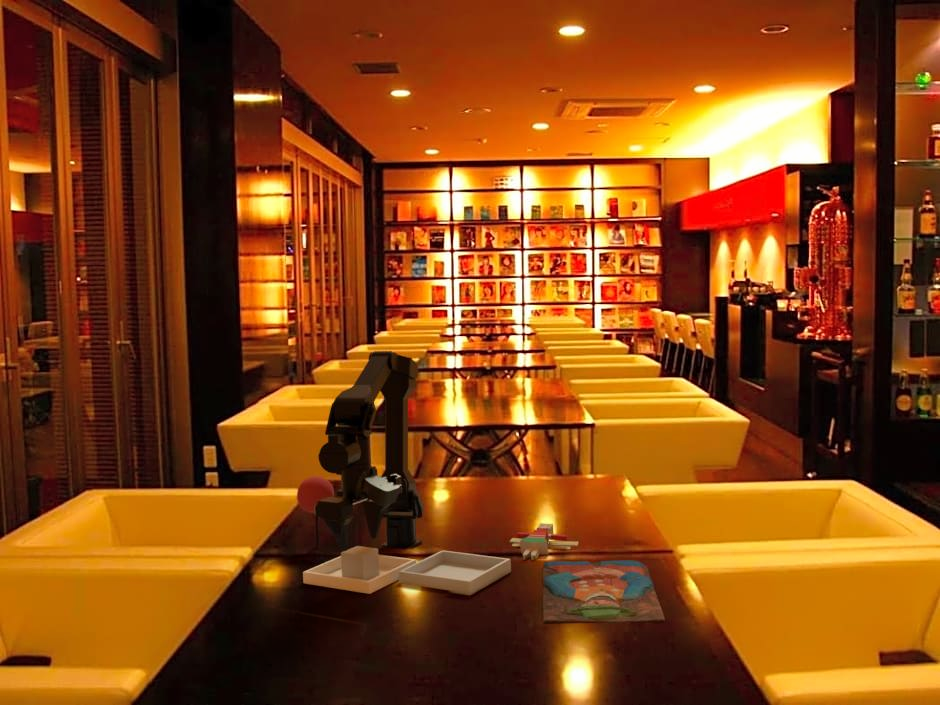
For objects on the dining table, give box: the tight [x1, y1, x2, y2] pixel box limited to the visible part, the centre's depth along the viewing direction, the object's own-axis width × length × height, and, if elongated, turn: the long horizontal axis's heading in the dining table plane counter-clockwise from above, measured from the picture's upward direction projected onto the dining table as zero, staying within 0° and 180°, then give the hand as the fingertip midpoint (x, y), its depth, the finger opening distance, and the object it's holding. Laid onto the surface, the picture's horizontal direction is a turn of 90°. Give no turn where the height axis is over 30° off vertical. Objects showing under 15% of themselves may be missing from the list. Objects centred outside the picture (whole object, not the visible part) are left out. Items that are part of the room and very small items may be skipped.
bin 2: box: [398, 550, 512, 596], centre depth 190 cm, size 15×15×2 cm
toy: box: [509, 522, 579, 561], centre depth 207 cm, size 15×4×15 cm
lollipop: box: [296, 476, 335, 548], centre depth 215 cm, size 8×8×15 cm
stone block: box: [340, 545, 380, 580], centre depth 192 cm, size 5×5×5 cm
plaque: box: [542, 559, 666, 624], centre depth 179 cm, size 20×2×30 cm
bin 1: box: [302, 554, 417, 595], centre depth 192 cm, size 15×15×2 cm
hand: (359, 544), depth 192 cm, fingers open, 9 cm apart
